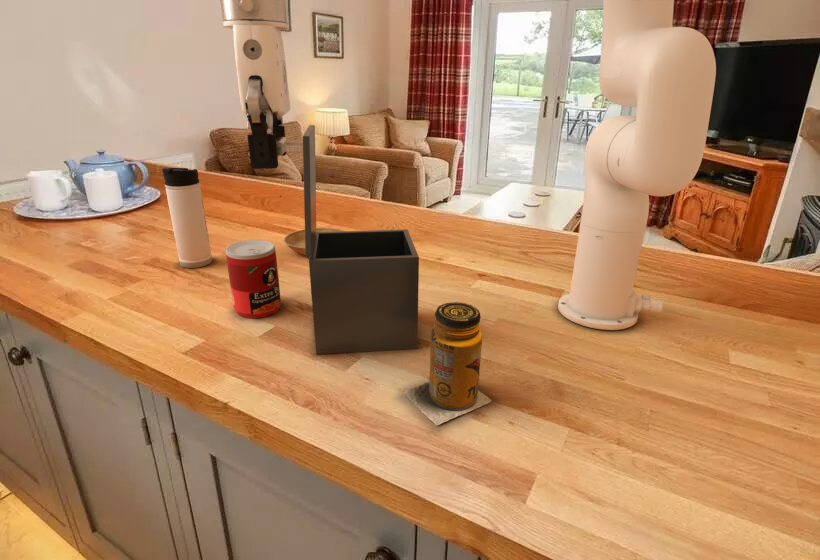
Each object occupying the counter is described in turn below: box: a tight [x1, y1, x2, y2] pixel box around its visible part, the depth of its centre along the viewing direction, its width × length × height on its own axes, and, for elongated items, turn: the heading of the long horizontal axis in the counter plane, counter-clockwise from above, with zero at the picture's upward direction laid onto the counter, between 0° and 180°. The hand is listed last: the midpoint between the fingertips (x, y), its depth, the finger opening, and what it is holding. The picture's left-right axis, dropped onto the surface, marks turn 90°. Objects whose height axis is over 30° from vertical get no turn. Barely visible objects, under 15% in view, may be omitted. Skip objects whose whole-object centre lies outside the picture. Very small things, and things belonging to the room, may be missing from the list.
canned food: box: [225, 239, 282, 319], centre depth 81 cm, size 8×8×11 cm
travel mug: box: [161, 167, 213, 269], centre depth 98 cm, size 6×7×20 cm
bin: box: [308, 229, 420, 355], centre depth 74 cm, size 15×13×14 cm
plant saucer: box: [283, 227, 344, 256], centre depth 111 cm, size 15×15×3 cm
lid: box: [276, 124, 317, 258], centre depth 67 cm, size 15×13×5 cm
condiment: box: [402, 301, 493, 426], centre depth 59 cm, size 7×8×12 cm
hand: (270, 161), depth 65 cm, fingers open, 9 cm apart
